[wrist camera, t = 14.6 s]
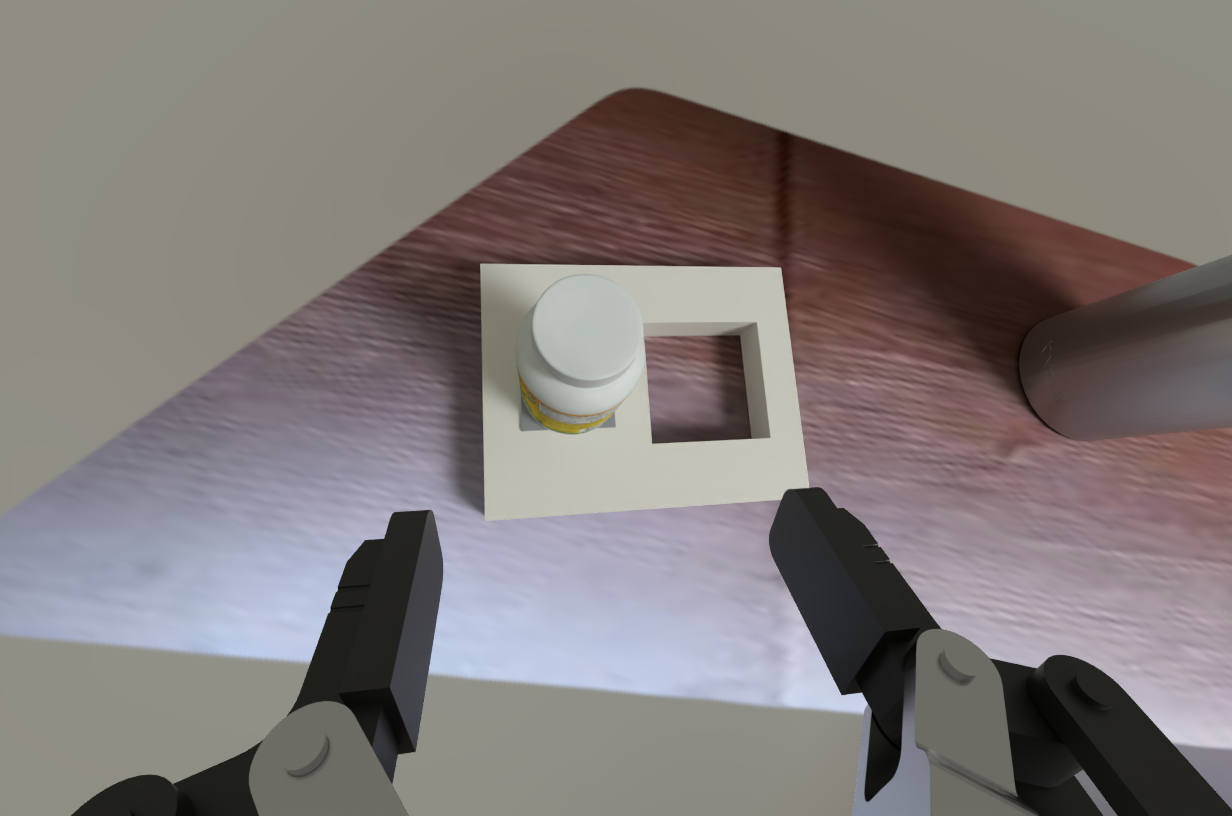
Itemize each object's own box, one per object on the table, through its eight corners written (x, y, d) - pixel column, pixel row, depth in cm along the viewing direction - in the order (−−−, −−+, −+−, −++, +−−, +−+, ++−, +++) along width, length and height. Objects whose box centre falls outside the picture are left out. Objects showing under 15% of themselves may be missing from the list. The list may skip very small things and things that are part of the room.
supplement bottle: (606, 446, 26) (644, 419, 17) (508, 421, 26) (491, 378, 16) (628, 353, 27) (676, 279, 18) (535, 327, 27) (534, 237, 17)
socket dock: (762, 284, 32) (782, 266, 30) (788, 497, 30) (812, 497, 28) (485, 282, 30) (479, 262, 27) (489, 518, 27) (484, 521, 25)
